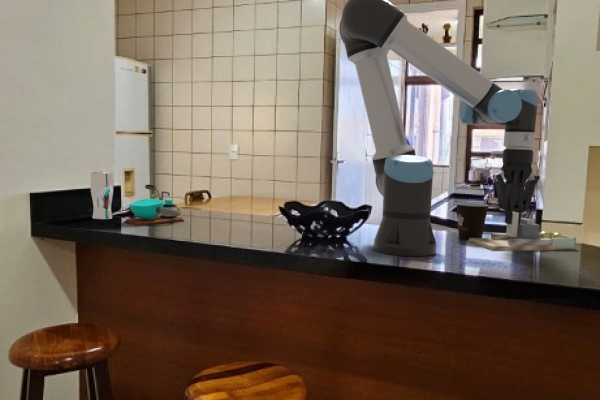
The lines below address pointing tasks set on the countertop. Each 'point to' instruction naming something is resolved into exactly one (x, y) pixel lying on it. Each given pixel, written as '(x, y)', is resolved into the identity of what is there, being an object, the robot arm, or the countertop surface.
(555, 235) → the brass ball
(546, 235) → the brass ball
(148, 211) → the contraption on wooden base
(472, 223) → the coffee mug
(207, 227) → the countertop surface
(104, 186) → the beer glass
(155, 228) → the countertop surface
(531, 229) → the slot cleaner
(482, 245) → the jig board
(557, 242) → the tray
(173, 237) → the countertop surface
